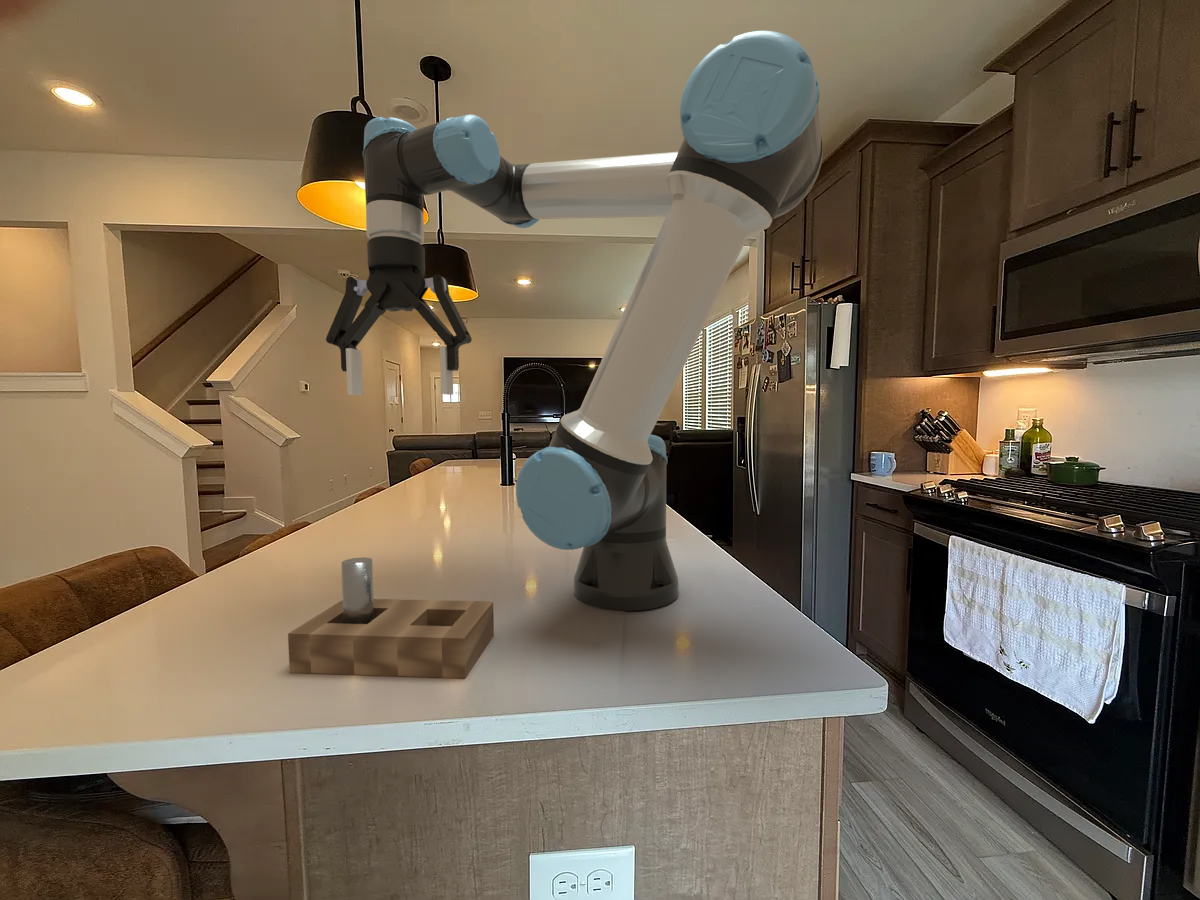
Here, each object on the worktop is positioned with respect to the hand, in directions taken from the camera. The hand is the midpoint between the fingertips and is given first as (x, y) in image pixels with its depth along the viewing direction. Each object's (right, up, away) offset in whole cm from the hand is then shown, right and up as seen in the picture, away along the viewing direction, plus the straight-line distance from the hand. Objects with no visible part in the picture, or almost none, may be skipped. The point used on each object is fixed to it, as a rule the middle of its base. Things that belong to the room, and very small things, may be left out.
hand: (401, 395), depth 73 cm
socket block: (+7, -30, -18) cm, 35 cm away
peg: (+2, -30, -17) cm, 35 cm away
